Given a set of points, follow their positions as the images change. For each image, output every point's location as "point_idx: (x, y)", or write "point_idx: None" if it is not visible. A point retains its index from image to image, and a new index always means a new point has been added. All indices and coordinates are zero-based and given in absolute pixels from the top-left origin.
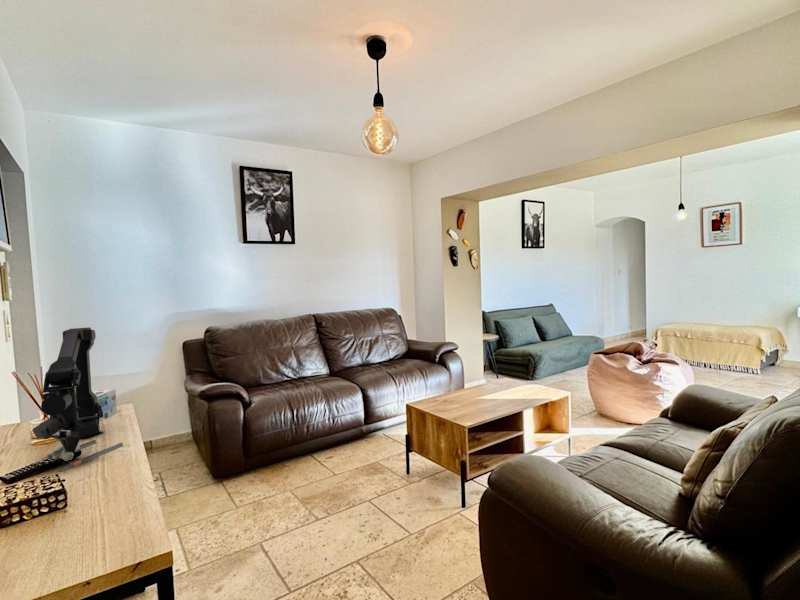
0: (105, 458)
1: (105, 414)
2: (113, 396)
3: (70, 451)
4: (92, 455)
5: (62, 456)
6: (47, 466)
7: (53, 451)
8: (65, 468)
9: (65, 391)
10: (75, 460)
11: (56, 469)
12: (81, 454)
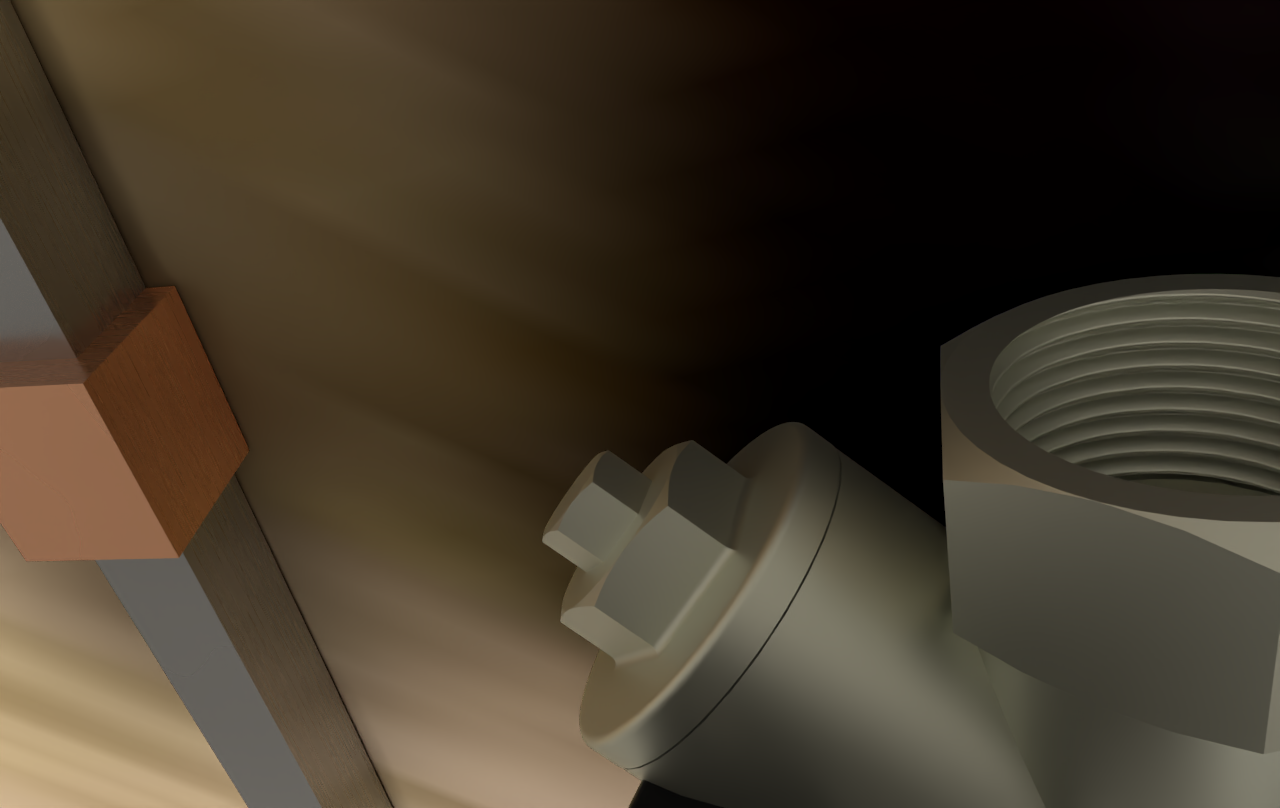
0: (85, 746)
1: None
2: None
3: (639, 799)
4: (239, 770)
5: (738, 563)
6: (1108, 111)
7: (1226, 683)
8: None
9: None
10: (116, 508)
11: (435, 58)
12: None
